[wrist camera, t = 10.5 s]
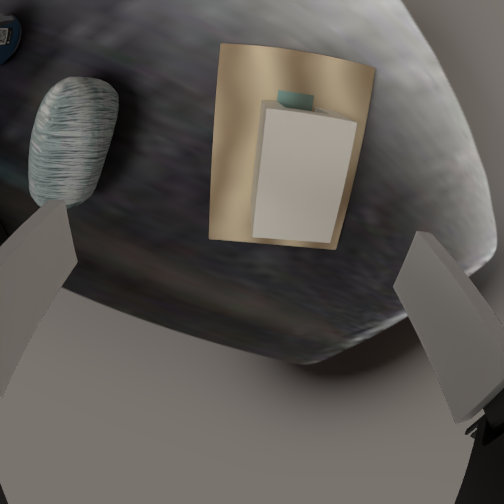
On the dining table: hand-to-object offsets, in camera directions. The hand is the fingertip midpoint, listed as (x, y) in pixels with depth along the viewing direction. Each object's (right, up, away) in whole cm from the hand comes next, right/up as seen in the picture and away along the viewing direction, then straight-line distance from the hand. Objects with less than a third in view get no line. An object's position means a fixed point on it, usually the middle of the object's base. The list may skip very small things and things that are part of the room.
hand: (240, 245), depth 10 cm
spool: (-17, +12, +17) cm, 27 cm away
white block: (+4, +9, +17) cm, 19 cm away
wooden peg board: (+4, +10, +18) cm, 21 cm away
